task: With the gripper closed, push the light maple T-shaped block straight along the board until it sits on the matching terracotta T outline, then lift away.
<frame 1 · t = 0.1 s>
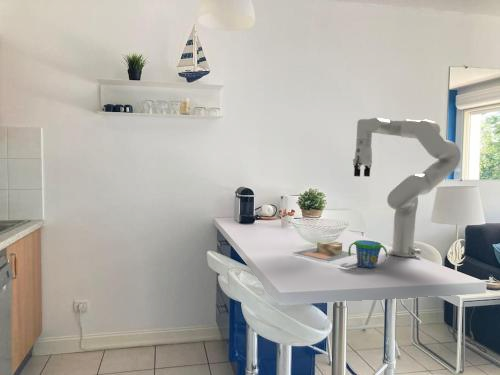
hand: (361, 176, 210), 37 cm above the counter, tool pointing down, fingers open, 9 cm apart
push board: (325, 255, 187), on the counter
snack cup: (366, 266, 169), on the counter
t block: (332, 251, 192), point 1 cm above the counter, touching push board
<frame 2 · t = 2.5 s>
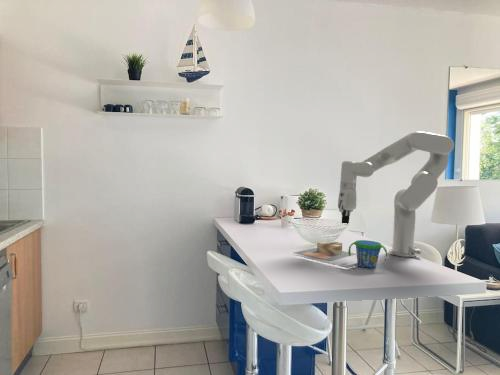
hand: (345, 223, 199), 13 cm above the counter, tool pointing down, fingers closed
nothing on the counter moved.
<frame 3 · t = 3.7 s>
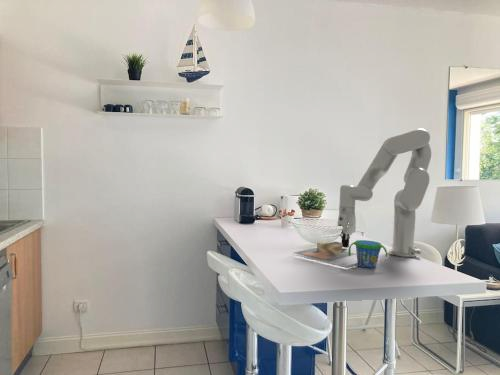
hand: (345, 247, 199), 2 cm above the counter, tool pointing down, fingers closed
nothing on the counter moved.
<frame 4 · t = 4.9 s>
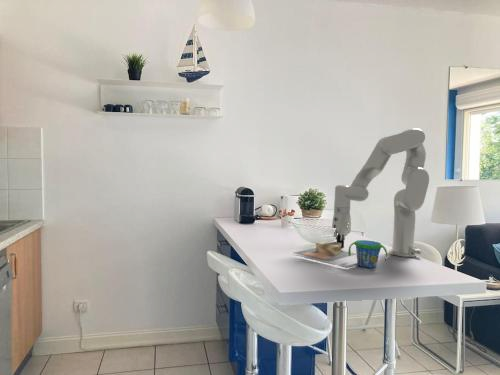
hand: (339, 248, 196), 2 cm above the counter, tool pointing down, fingers closed
t block: (331, 251, 191), point 1 cm above the counter, touching gripper, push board
everything else where it was.
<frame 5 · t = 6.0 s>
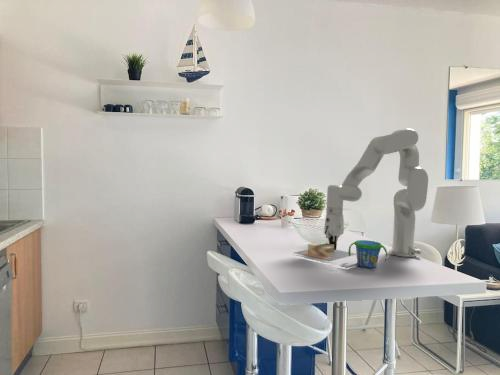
hand: (332, 249, 192), 2 cm above the counter, tool pointing down, fingers closed
t block: (323, 253, 187), point 1 cm above the counter, touching gripper
everything else where it was.
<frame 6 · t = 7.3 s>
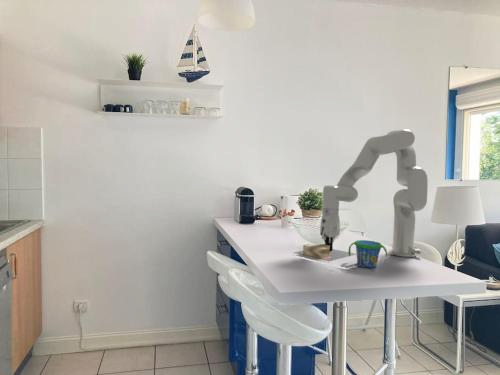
hand: (328, 250, 189), 2 cm above the counter, tool pointing down, fingers closed
t block: (319, 254, 184), point 1 cm above the counter, touching gripper, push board
everything else where it was.
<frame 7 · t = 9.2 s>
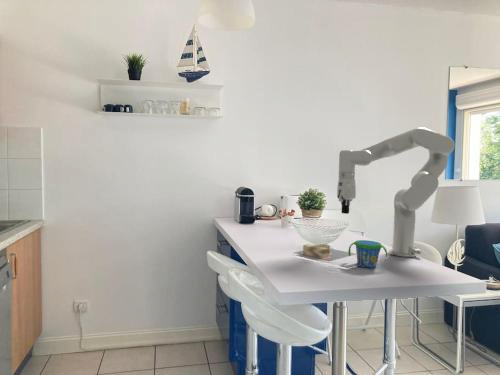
hand: (345, 213, 197), 19 cm above the counter, tool pointing down, fingers closed
t block: (319, 254, 184), point 1 cm above the counter, touching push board
everything else where it was.
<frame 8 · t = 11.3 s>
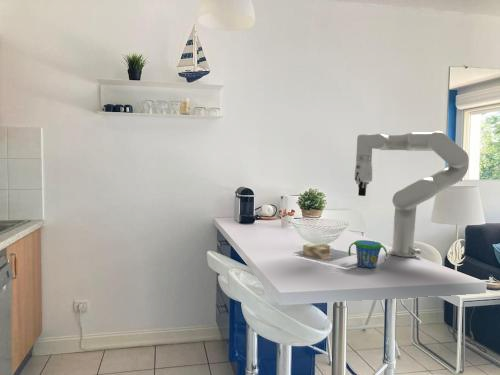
hand: (361, 195, 203), 27 cm above the counter, tool pointing down, fingers closed
nothing on the counter moved.
at the end: t block 0.6 cm from the target spot on the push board, point 0.8 cm above the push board's base; t block tilted 0° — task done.
